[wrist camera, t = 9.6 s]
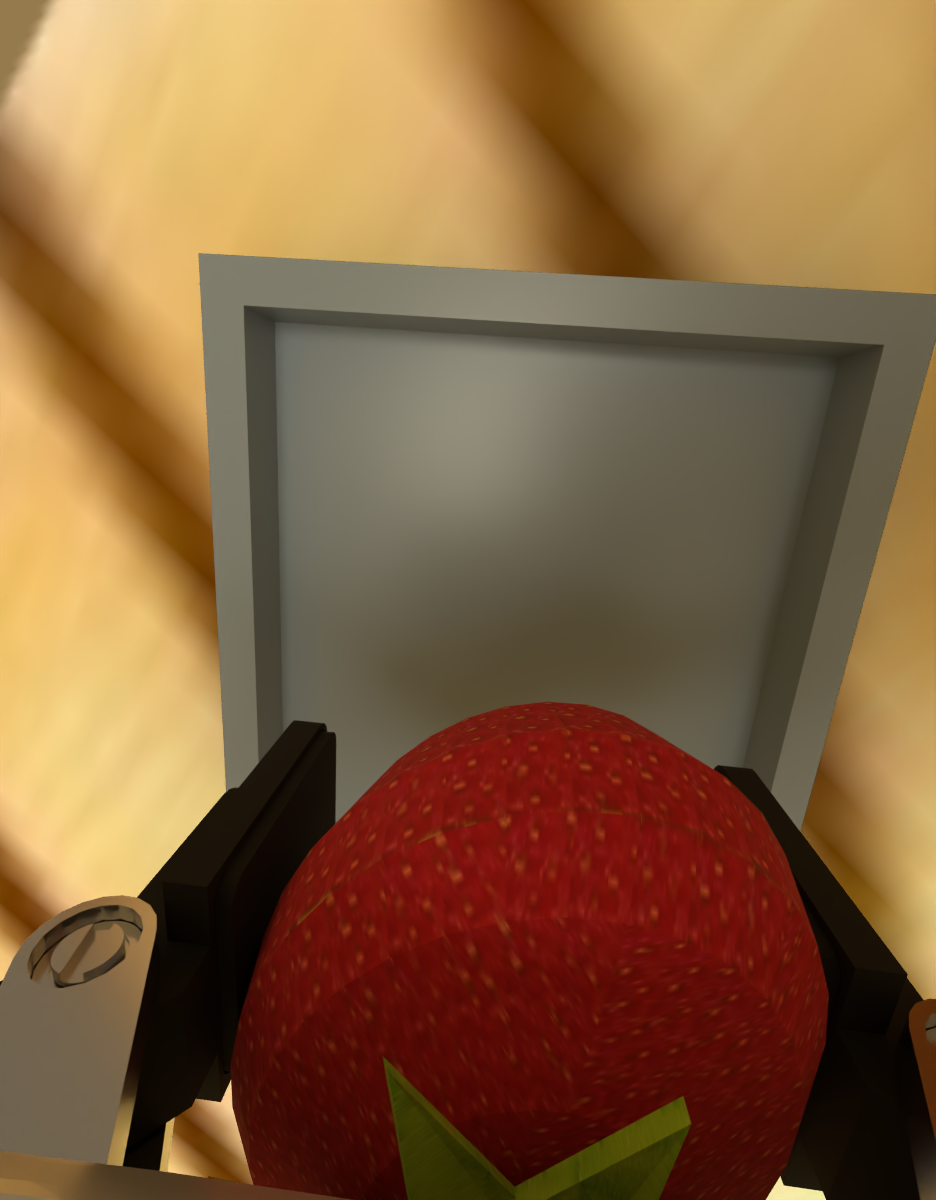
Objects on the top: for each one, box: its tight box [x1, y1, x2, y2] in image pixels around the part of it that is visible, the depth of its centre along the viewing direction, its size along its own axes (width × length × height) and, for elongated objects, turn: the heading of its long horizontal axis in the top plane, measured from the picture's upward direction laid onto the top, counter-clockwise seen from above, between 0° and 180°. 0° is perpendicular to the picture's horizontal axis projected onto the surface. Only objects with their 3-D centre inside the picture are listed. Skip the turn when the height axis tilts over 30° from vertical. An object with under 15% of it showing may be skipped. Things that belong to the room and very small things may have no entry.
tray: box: [199, 253, 936, 831], centre depth 16 cm, size 16×20×2 cm
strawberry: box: [208, 702, 829, 1200], centre depth 7 cm, size 6×8×10 cm
